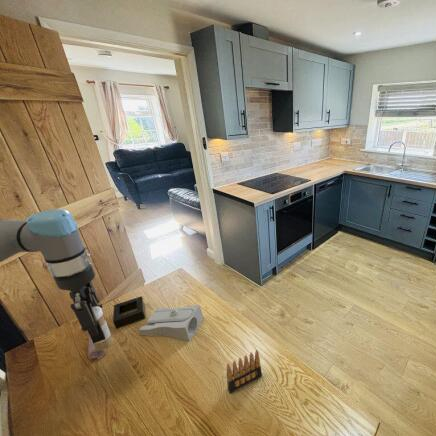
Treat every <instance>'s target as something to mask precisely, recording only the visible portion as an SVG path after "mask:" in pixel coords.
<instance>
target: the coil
mask: <svg viewBox="0 0 436 436" xmlns="http://www.w3.org/2000/svg"><path fill="white" fill-rule="evenodd" d="M106 353H107V349H105V350H102V351H97V350H96V349H95V346H94V344H93V342H92V340H91V337H90V335H89V334H88V350H87V357H88V358H89V359H93V360H94V359H97V360H101V359H102V358H104V357H105V355H106Z"/></svg>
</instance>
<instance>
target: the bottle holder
mask: <svg viewBox="0 0 436 436" xmlns="http://www.w3.org/2000/svg"><path fill="white" fill-rule="evenodd" d="M112 315H113V316H112V323H113V325H114V327H115V329H116V330H118V329H120V328H123V327H125V326H128V325H131V324H134V323H137V322H140V321H142V320H144V319H146V309H145V301H144V298H143V296H142V295H141V296H138V297H135V298H131V299H129V300H126V301H123V302H119V303H115V304H114V305H113V313H112Z"/></svg>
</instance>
